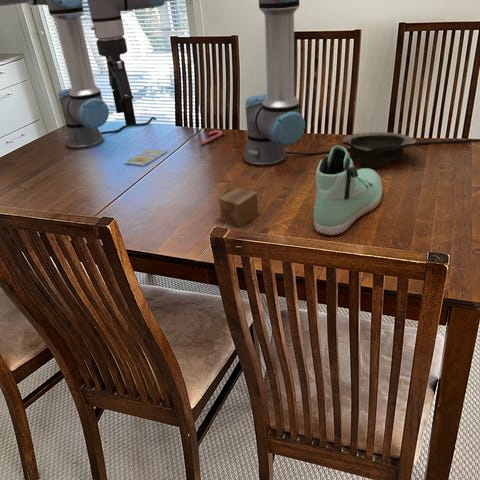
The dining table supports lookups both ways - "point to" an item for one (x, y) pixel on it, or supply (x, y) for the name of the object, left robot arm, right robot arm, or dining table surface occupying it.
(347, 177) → the sneaker
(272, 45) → the right robot arm
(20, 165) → the dining table surface
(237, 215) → the block
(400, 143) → the black hat
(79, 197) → the dining table surface
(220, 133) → the candy cane
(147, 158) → the baking ingredient package
